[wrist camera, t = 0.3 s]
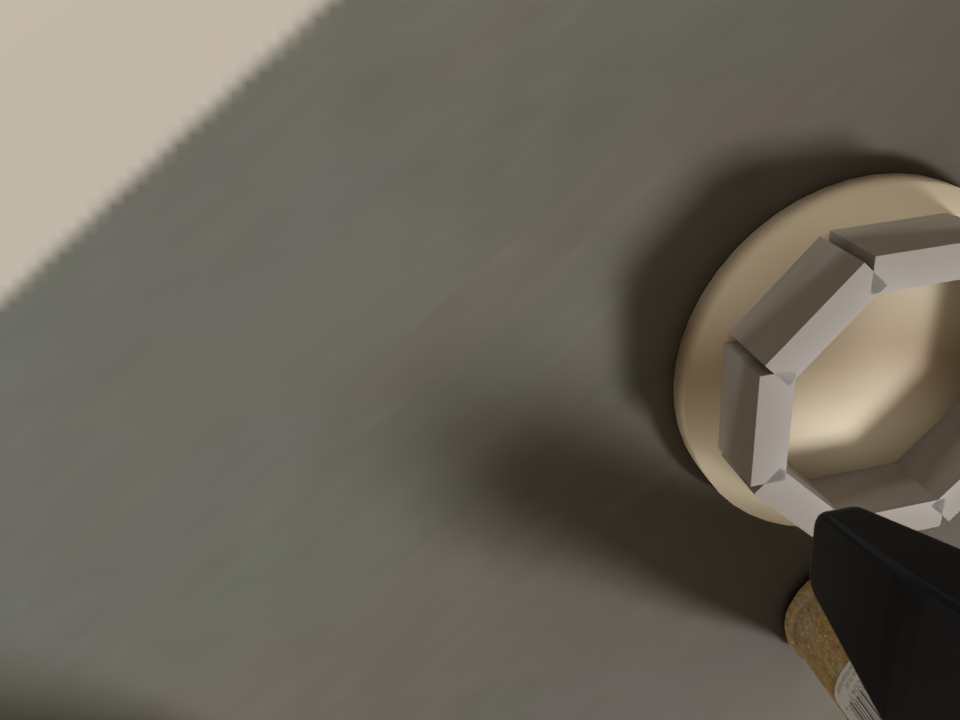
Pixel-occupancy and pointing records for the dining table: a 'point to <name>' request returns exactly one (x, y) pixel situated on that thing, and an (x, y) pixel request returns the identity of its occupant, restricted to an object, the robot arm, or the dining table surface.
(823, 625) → the sprinkles bottle
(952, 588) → the robot arm
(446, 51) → the dining table surface
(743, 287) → the collar socket
